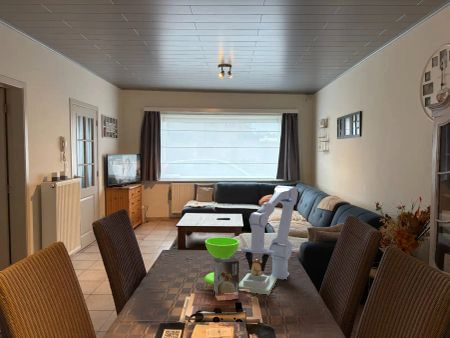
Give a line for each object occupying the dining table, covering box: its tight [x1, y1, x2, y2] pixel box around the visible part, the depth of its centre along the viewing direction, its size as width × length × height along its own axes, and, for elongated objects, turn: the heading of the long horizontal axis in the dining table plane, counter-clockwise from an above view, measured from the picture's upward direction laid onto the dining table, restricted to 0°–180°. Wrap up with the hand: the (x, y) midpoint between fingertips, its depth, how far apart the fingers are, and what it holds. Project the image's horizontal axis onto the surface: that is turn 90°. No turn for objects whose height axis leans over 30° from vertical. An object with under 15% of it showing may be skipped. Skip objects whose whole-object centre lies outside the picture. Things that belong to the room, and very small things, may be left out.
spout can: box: [250, 258, 264, 276], centre depth 160 cm, size 5×5×6 cm
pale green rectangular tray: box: [239, 272, 278, 296], centre depth 162 cm, size 18×14×4 cm
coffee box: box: [213, 256, 240, 294], centre depth 148 cm, size 9×6×16 cm
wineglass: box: [204, 236, 240, 285], centre depth 169 cm, size 16×16×18 cm
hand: (257, 270), depth 160 cm, fingers closed on spout can, 5 cm apart
